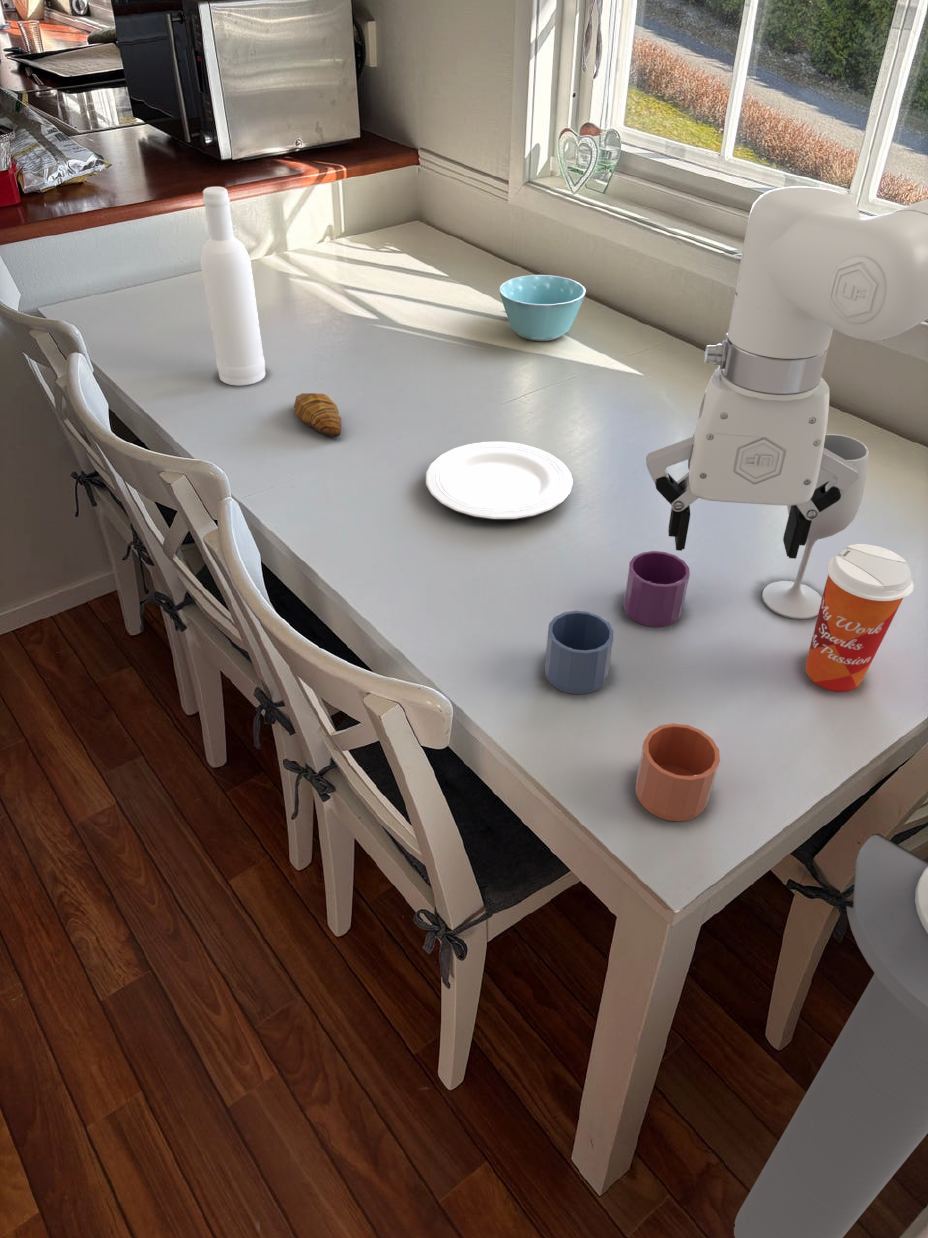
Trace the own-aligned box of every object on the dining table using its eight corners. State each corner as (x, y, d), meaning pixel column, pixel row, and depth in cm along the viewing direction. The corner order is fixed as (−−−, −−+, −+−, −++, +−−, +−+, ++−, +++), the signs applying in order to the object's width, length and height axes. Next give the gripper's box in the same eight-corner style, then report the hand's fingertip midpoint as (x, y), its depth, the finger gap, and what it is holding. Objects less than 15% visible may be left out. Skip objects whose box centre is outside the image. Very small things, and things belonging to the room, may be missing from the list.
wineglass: (822, 626, 108) (876, 470, 95) (756, 611, 110) (799, 456, 97) (827, 589, 114) (878, 437, 100) (764, 575, 116) (806, 424, 102)
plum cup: (693, 612, 110) (702, 572, 106) (652, 634, 107) (660, 594, 103) (651, 583, 114) (658, 544, 110) (611, 604, 111) (617, 564, 107)
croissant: (280, 410, 148) (276, 381, 145) (318, 400, 151) (315, 372, 148) (316, 446, 140) (313, 416, 136) (356, 435, 142) (354, 405, 139)
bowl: (480, 330, 174) (481, 286, 169) (538, 309, 182) (540, 267, 177) (540, 356, 165) (544, 311, 160) (598, 333, 174) (603, 289, 168)
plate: (552, 447, 140) (552, 435, 139) (589, 522, 125) (590, 510, 123) (416, 457, 137) (416, 445, 136) (437, 535, 122) (436, 523, 120)
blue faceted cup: (620, 677, 101) (627, 635, 97) (573, 703, 98) (578, 661, 94) (577, 643, 105) (582, 602, 102) (531, 667, 102) (535, 626, 98)
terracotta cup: (722, 798, 88) (735, 756, 84) (672, 833, 85) (683, 791, 81) (669, 755, 93) (679, 713, 89) (620, 786, 89) (628, 744, 85)
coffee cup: (781, 674, 102) (816, 564, 92) (815, 638, 107) (852, 531, 97) (853, 711, 98) (897, 601, 88) (885, 673, 102) (931, 564, 93)
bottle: (272, 368, 160) (249, 183, 141) (257, 388, 154) (230, 198, 135) (228, 364, 161) (199, 180, 142) (211, 383, 155) (179, 194, 136)
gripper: (661, 377, 70) (636, 563, 80) (899, 389, 68) (841, 577, 79) (658, 339, 76) (635, 517, 86) (877, 349, 74) (826, 529, 84)
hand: (733, 545), depth 82 cm, fingers open, 9 cm apart
